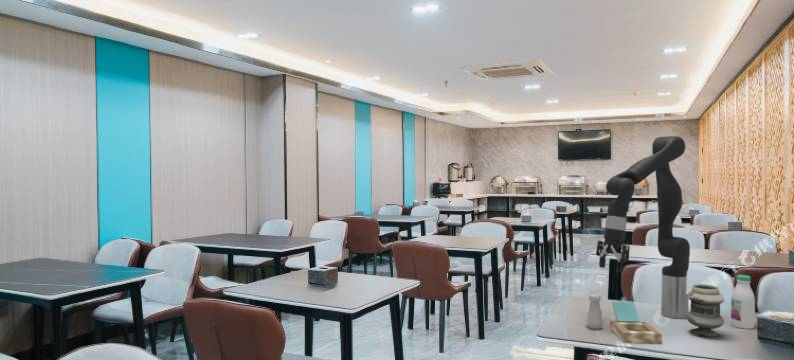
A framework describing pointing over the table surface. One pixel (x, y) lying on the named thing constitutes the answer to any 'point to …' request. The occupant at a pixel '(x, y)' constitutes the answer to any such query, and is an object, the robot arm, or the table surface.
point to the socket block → (636, 332)
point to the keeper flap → (625, 311)
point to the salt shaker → (594, 312)
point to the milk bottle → (743, 304)
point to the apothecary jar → (705, 310)
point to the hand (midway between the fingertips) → (610, 269)
